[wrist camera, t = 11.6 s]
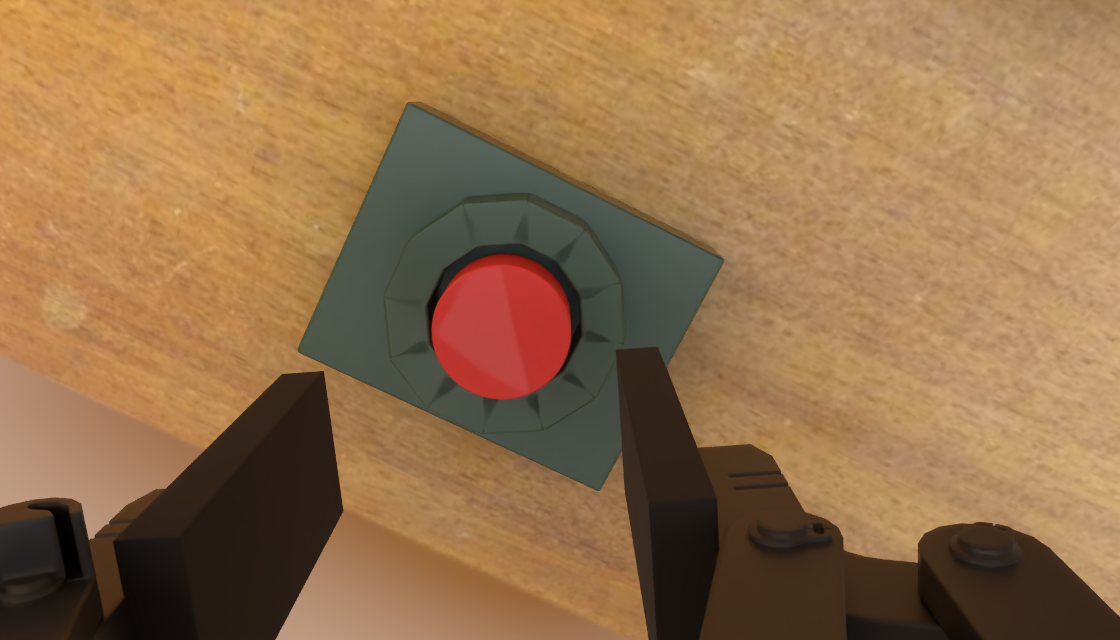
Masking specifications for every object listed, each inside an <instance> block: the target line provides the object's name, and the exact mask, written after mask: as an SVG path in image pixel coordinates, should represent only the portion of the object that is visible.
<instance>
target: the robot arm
mask: <svg viewBox="0 0 1120 640" xmlns="http://www.w3.org/2000/svg"><path fill="white" fill-rule="evenodd" d="M616 362H617V378H618V393H619V408H620V423H621V439H622V454H623V469H624V484H625V495H626V501H627V507H628V513H629V519H630V526H631V532H632V538H633V544H634V550H635V556H636V563H637V569H638V575H639V581H640V587H641V594H642V600H643V606H644V612H645V618H646V625H647V631H648V637H649V640H1120V617H1119V616H1118V615H1117V614H1116V613H1115V612H1114V611H1113V610H1112V609H1111V608H1110V607H1109V606H1108V605H1107V604H1106V603H1105V602H1104V601H1103V600H1102V599H1101V598H1100V597H1099V596H1098V595H1097V594H1096V593H1095V592H1094V591H1093V590H1092V589H1091V588H1090V587H1089V586H1088V585H1087V584H1086V583H1085V582H1084V581H1083V580H1082V579H1081V578H1079V577H1078V576H1077V575H1076V574H1075V573H1074V572H1073V571H1072V570H1071V569H1070V568H1069V567H1068V566H1067V565H1066V564H1065V563H1064V562H1063V561H1062V560H1061V559H1060V558H1059V557H1058V556H1057V555H1056V554H1055V553H1054V552H1053V551H1052V550H1051V549H1050V548H1049V547H1047V546H1046V545H1044V544H1043V543H1041V542H1040V541H1038V540H1037V539H1035V538H1034V537H1032V536H1029V535H1026V534H1024V533H1021V532H1018V531H1016V530H1013V529H1011V528H1010V527H1007V526H1003V525H999V524H996V525H995V526H993V523H985V522H976V523H974V524H963V523H960V524H954V525H948V526H941V527H938V528H936V529H934V530H931V531H929V532H927V533H925V534H924V535H923V537H922V538H921V540H920V541H919V543H918V563H915V562H904V561H894V560H883V559H877V558H870V557H864V556H861V555H857V554H853V553H849V552H847V551H844V547H843V537H842V534H841V532H840V530H839V528H838V527H837V526H835V525H834V524H832V523H831V522H829V521H828V520H826V519H824V518H821V517H818V516H815V515H812V514H809V513H805V511H804V510H803V508H802V506H801V505H800V503H799V501H798V499H797V498H796V496H795V494H794V493H793V491H792V489H791V488H790V486H788V482H787V481H786V479H785V477H784V476H783V474H781V471H780V469H779V467H778V465H777V464H776V462H775V460H774V459H773V457H772V456H771V455H769V454H767V453H765V452H764V451H762V450H760V449H758V448H756V447H755V446H753V445H751V444H747V445H733V446H719V447H705V448H697V446H696V443H695V440H694V438H693V435H692V433H691V430H690V428H689V425H688V422H687V420H686V417H685V415H684V412H683V410H682V407H681V404H680V402H679V399H678V397H677V394H676V392H675V389H674V386H673V384H672V381H671V379H670V376H669V374H668V371H667V368H666V366H665V363H664V361H663V358H662V356H661V353H660V350H659V348H658V346H657V347H643V348H630V349H616ZM342 513H343V505H342V498H341V491H340V484H339V476H338V469H337V462H336V455H335V448H334V441H333V434H332V426H331V419H330V412H329V405H328V398H327V391H326V384H325V376H324V371H318V372H305V373H291V374H282V375H281V376H280V377H279V378H278V379H277V380H276V381H275V382H274V383H273V384H272V385H271V386H270V387H269V388H267V389H266V390H265V391H264V392H263V393H262V394H261V395H260V396H259V397H258V398H257V399H256V400H255V401H254V402H253V403H252V404H251V405H250V406H249V407H248V408H247V409H246V410H245V411H244V412H243V413H242V414H241V415H240V416H239V417H238V418H237V419H236V420H235V421H234V422H233V423H232V424H231V425H230V426H229V427H228V428H227V429H226V430H225V431H224V432H223V433H222V434H221V435H220V436H219V437H218V438H217V439H216V440H215V441H214V442H213V443H212V444H211V445H210V446H209V447H208V448H207V449H206V450H205V451H204V452H203V453H202V454H201V455H200V456H199V457H198V458H197V459H196V460H195V461H193V463H191V465H189V466H188V467H187V468H186V470H184V471H183V472H182V473H181V474H180V475H179V477H177V478H176V480H174V481H173V482H172V483H171V484H170V485H169V486H168V487H167V488H166V489H156V490H154V491H152V492H150V493H149V494H147V495H145V496H143V497H141V498H139V499H137V500H135V501H134V502H132V503H130V504H128V505H126V506H125V507H124V508H123V509H122V510H121V511H120V512H119V513H118V514H117V515H116V516H115V517H114V518H113V519H111V520H110V522H109V525H105V526H104V527H103V528H102V529H101V530H100V531H99V532H98V533H97V534H95V538H94V539H90V540H89V539H88V534H87V529H86V524H85V520H84V515H83V510H82V505H81V503H79V502H77V501H75V500H73V499H66V498H46V499H36V500H30V501H25V502H21V503H16V504H12V505H8V506H5V507H2V508H0V640H275V639H276V638H277V636H278V634H279V632H280V630H281V628H282V626H283V624H284V622H285V620H286V619H287V617H288V615H289V613H290V611H291V609H292V607H293V605H294V604H295V601H296V600H297V598H298V596H299V594H300V592H301V590H302V588H303V586H304V585H305V583H306V581H307V579H308V577H309V575H310V573H311V571H312V569H313V568H314V565H315V564H316V562H317V560H318V558H319V556H320V554H321V552H322V550H323V548H324V547H325V545H326V543H327V541H328V539H329V537H330V535H331V534H332V532H333V530H334V528H335V526H336V524H337V522H338V520H339V518H340V516H341V515H342Z"/></svg>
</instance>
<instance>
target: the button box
mask: <svg viewBox="0 0 1120 640" xmlns="http://www.w3.org/2000/svg"><path fill="white" fill-rule="evenodd" d="M494 254H514V255H520V256H523V257H527V258H529V259H531V260H534V261H536V262H537V263H539V264H541V265H542V266H544V267H545V268H546V269H548V270H549V271H550V272H551V273H552V274H553V275H554V276H555V277H556V279H557V280H558V281H559V283H560V284H561V286H562V288H563V289H564V291H565V294H566V296H567V299H568V302H569V306H570V314H571V342H570V348H569V351H568V355H567V357H566V359H565V362H564V364H563V365H562V367H561V369H560V370H559V371H558V373H557V374H556V375H555V376H554V378H552V379H551V380H550V381H549V382H548V383H547V384H546V385H544V386H543V387H542V388H540V389H539V390H537V391H535V392H533V393H531V394H528V395H526V396H522V397H519V398H513V399H491V398H486V397H482V396H479V395H477V394H474V393H472V392H470V391H468V390H466V389H464V388H463V387H461V386H460V385H459V384H457V383H456V382H455V381H454V380H453V379H452V378H451V377H450V376H449V375H448V374H447V373H446V371H445V370H444V369H443V367H442V365H441V364H440V362H439V360H438V358H437V356H436V353H435V350H434V346H433V341H432V319H433V315H434V311H435V309H436V306H437V303H438V301H439V300H440V298H441V296H442V294H443V293H444V291H445V289H446V288H447V286H448V284H449V283H450V281H451V280H452V279H453V277H454V276H455V275H456V274H457V273H458V272H459V271H460V270H461V269H462V268H464V267H465V266H466V265H468V264H469V263H471V262H473V261H475V260H477V259H479V258H482V257H485V256H489V255H494ZM723 263H724V259H723V258H722V257H721V256H720V255H719V254H718V253H717V252H716V251H715V250H714V249H713V248H712V247H710V246H708V245H706V244H704V243H702V242H700V241H698V240H696V239H694V238H692V237H690V236H688V235H686V234H684V233H682V232H680V231H678V230H676V229H674V228H672V227H670V226H668V225H666V224H664V223H662V222H660V221H658V220H656V219H654V218H652V217H650V216H648V215H646V214H644V213H642V212H640V211H638V210H636V209H634V208H632V207H630V206H628V205H626V204H624V203H622V202H620V201H618V200H616V199H614V198H612V197H610V196H608V195H606V194H604V193H602V192H600V191H598V190H596V189H594V188H592V187H590V186H588V185H586V184H584V183H582V182H580V181H578V180H576V179H574V178H572V177H570V176H568V175H566V174H564V173H562V172H560V171H558V170H556V169H554V168H552V167H550V166H548V165H546V164H544V163H542V162H540V161H538V160H536V159H534V158H532V157H530V156H528V155H526V154H524V153H522V152H520V151H518V150H516V149H514V148H512V147H510V146H508V145H506V144H504V143H502V142H500V141H498V140H496V139H494V138H492V137H490V136H488V135H486V134H484V133H482V132H480V131H478V130H476V129H474V128H472V127H470V126H468V125H466V124H464V123H462V122H460V121H458V120H456V119H454V118H452V117H450V116H448V115H446V114H444V113H442V112H440V111H438V110H436V109H434V108H432V107H430V106H428V105H426V104H424V103H422V102H408V103H407V104H406V106H405V109H404V111H403V113H402V115H401V118H400V120H399V122H398V124H397V127H396V129H395V131H394V133H393V136H392V138H391V140H390V142H389V145H388V147H387V149H386V151H385V153H384V156H383V158H382V160H381V162H380V165H379V167H378V169H377V171H376V174H375V176H374V178H373V180H372V183H371V185H370V187H369V189H368V192H367V194H366V196H365V198H364V201H363V203H362V205H361V207H360V210H359V212H358V214H357V216H356V219H355V221H354V223H353V225H352V228H351V230H350V232H349V234H348V237H347V239H346V241H345V243H344V246H343V248H342V250H341V252H340V255H339V257H338V259H337V261H336V264H335V266H334V268H333V270H332V273H331V275H330V277H329V279H328V282H327V284H326V286H325V288H324V291H323V293H322V295H321V297H320V300H319V302H318V304H317V306H316V309H315V311H314V313H313V315H312V318H311V320H310V322H309V324H308V327H307V329H306V331H305V333H304V336H303V338H302V340H301V342H300V344H299V347H298V352H299V353H301V354H303V355H305V356H308V357H310V358H312V359H314V360H316V361H318V362H321V363H323V364H325V365H327V366H329V367H331V368H333V369H336V370H338V371H340V372H342V373H344V374H346V375H349V376H351V377H353V378H355V379H357V380H359V381H362V382H364V383H366V384H368V385H370V386H372V387H374V388H377V389H379V390H381V391H383V392H385V393H387V394H390V395H392V396H394V397H396V398H398V399H400V400H403V401H405V402H407V403H409V404H411V405H413V406H416V407H418V408H420V409H422V410H424V411H426V412H428V413H431V414H433V415H435V416H437V417H439V418H441V419H444V420H446V421H448V422H450V423H452V424H454V425H457V426H459V427H461V428H463V429H465V430H467V431H470V432H472V433H474V434H476V435H478V436H480V437H482V438H485V439H487V440H489V441H491V442H493V443H495V444H498V445H500V446H502V447H504V448H506V449H508V450H511V451H513V452H515V453H517V454H519V455H521V456H523V457H526V458H528V459H530V460H532V461H534V462H536V463H539V464H541V465H543V466H545V467H547V468H549V469H552V470H554V471H556V472H558V473H560V474H562V475H565V476H567V477H569V478H571V479H573V480H575V481H577V482H580V483H582V484H584V485H586V486H588V487H590V488H593V489H595V490H597V491H600V490H601V488H602V486H603V484H604V483H605V481H606V479H607V477H608V475H609V473H610V472H611V470H612V468H613V466H614V464H615V462H616V460H617V459H618V457H619V455H620V453H621V451H622V439H621V423H620V408H619V393H618V378H617V362H616V349H630V348H643V347H657V346H658V348H659V350H660V353H661V356H662V358H663V361H664V363H665V366H666V368H667V366H668V364H669V362H670V361H671V359H672V357H673V355H674V353H675V351H676V350H677V348H678V346H679V344H680V342H681V340H682V338H683V337H684V335H685V333H686V331H687V329H688V327H689V326H690V324H691V322H692V320H693V318H694V316H695V314H696V313H697V311H698V309H699V307H700V305H701V303H702V301H703V300H704V298H705V296H706V294H707V292H708V290H709V289H710V287H711V285H712V283H713V281H714V279H715V277H716V276H717V274H718V272H719V270H720V268H721V266H722V265H723Z"/></svg>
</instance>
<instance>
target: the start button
mask: <svg viewBox="0 0 1120 640" xmlns="http://www.w3.org/2000/svg"><path fill="white" fill-rule="evenodd" d="M432 341H433V346H434V350H435V353H436V356H437V358H438V360H439V362H440V364H441V365H442V367H443V369H444V370H445V371H446V373H447V374H448V375H449V376H450V377H451V378H452V379H453V380H454V381H455V382H456V383H457V384H459V385H460V386H461V387H463V388H464V389H466V390H468V391H470V392H472V393H474V394H477V395H479V396H482V397H486V398H491V399H513V398H519V397H522V396H526V395H528V394H531V393H533V392H535V391H537V390H539V389H540V388H542V387H543V386H544V385H546V384H547V383H548V382H549V381H550V380H551V379H552V378H554V376H555V375H556V374H557V373H558V371H559V370H560V369H561V367H562V365H563V364H564V362H565V359H566V357H567V355H568V351H569V348H570V342H571V314H570V306H569V302H568V299H567V296H566V294H565V291H564V289H563V288H562V286H561V284H560V283H559V281H558V280H557V279H556V277H555V276H554V275H553V274H552V273H551V272H550V271H549V270H548V269H546V268H545V267H544V266H542V265H541V264H539V263H537V262H536V261H534V260H531V259H529V258H527V257H523V256H520V255H514V254H494V255H489V256H485V257H482V258H479V259H477V260H475V261H473V262H471V263H469V264H468V265H466V266H465V267H464V268H462V269H461V270H460V271H459V272H458V273H457V274H456V275H455V276H454V277H453V279H452V280H451V281H450V283H449V284H448V286H447V288H446V289H445V291H444V293H443V294H442V296H441V298H440V300H439V301H438V303H437V306H436V309H435V311H434V315H433V319H432Z"/></svg>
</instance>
